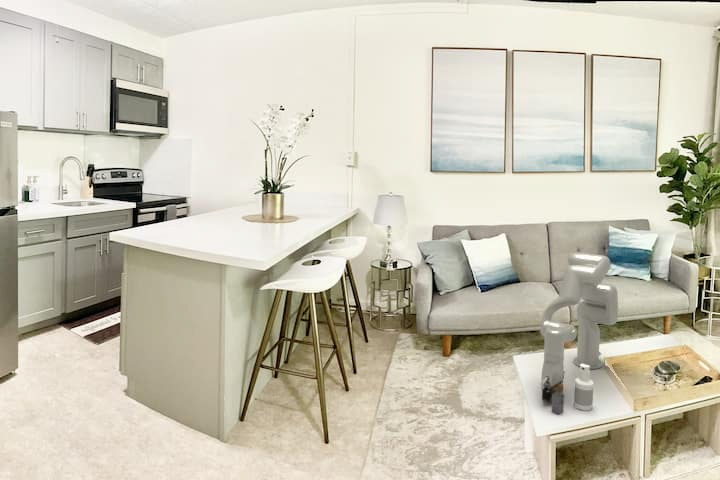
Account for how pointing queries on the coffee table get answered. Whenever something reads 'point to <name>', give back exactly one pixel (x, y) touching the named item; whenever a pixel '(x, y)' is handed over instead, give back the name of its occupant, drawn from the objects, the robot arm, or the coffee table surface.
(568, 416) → the coffee table surface
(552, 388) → the tan wooden cube
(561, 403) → the post
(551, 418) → the coffee table surface
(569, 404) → the coffee table surface
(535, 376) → the coffee table surface
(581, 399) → the spray bottle
